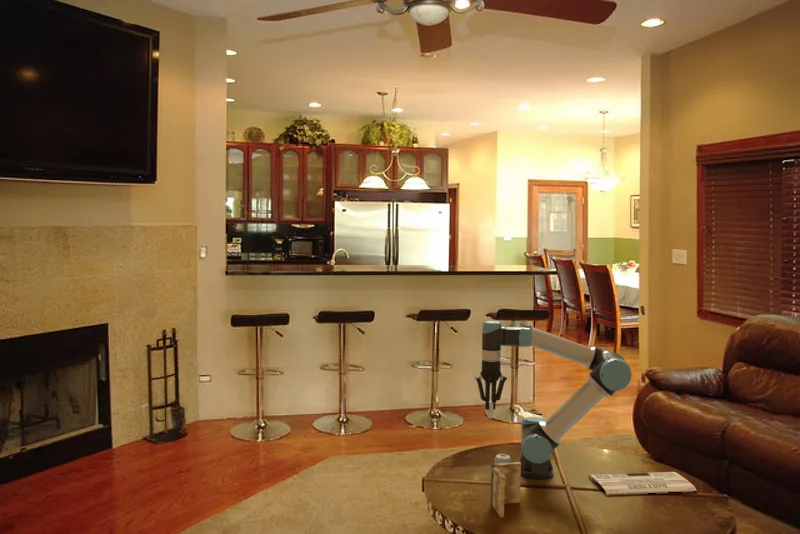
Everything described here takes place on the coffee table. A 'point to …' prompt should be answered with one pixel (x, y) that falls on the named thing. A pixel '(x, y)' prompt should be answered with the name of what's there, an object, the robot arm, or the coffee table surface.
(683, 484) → the newspaper
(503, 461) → the beverage can
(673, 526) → the coffee table surface
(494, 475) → the panel
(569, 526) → the coffee table surface
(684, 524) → the coffee table surface
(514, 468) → the fence panel
